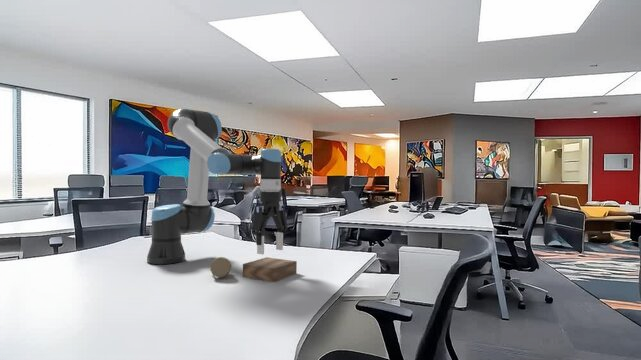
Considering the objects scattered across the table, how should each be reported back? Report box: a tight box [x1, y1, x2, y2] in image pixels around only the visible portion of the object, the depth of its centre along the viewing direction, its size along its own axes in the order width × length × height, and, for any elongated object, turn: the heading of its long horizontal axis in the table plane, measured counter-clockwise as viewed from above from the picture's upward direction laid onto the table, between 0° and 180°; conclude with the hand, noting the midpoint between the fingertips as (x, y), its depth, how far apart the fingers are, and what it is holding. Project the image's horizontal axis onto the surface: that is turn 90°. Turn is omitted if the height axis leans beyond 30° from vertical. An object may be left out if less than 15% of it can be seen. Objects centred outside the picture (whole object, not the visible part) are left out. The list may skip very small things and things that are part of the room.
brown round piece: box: [209, 256, 232, 278], centre depth 141 cm, size 8×10×10 cm
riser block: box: [242, 256, 298, 283], centre depth 144 cm, size 14×14×5 cm
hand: (270, 251), depth 144 cm, fingers open, 9 cm apart
